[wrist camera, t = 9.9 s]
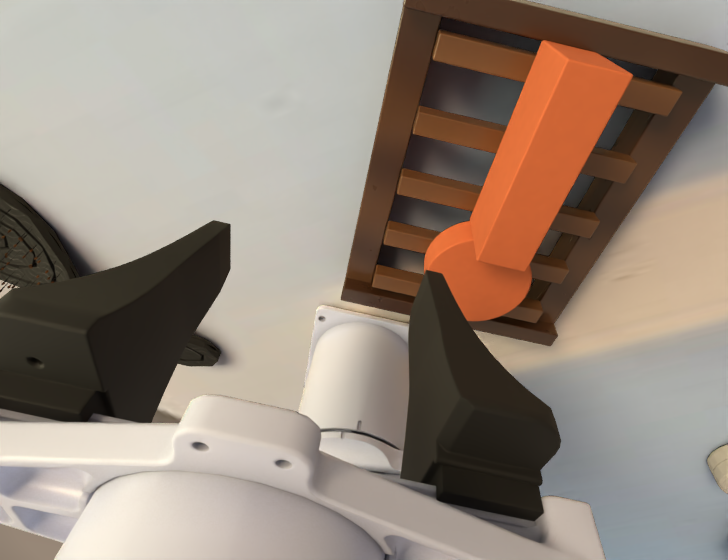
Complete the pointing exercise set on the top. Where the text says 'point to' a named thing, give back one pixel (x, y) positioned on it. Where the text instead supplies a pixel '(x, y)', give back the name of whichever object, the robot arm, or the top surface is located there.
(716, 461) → the electronic device
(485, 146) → the rack
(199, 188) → the top surface
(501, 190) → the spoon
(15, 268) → the hairbrush
